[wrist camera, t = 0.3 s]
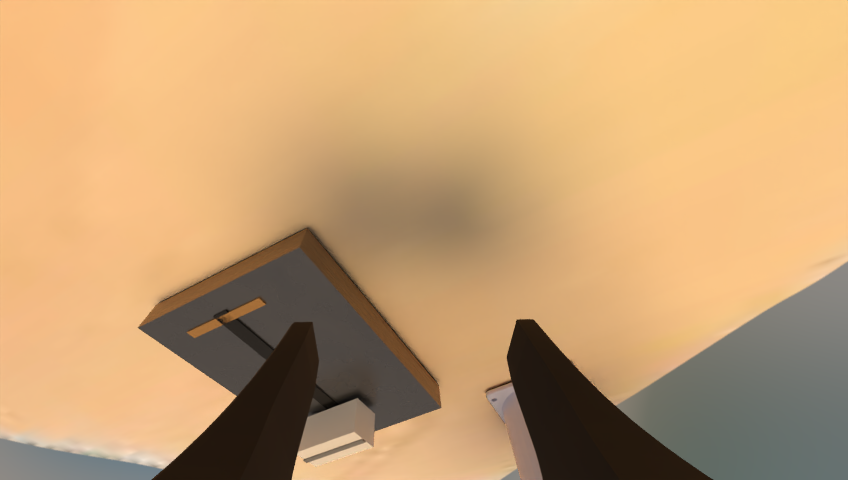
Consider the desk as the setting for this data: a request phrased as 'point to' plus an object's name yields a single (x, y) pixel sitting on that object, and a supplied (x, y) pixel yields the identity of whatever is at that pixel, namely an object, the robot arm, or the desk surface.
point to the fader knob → (337, 433)
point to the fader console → (272, 317)
